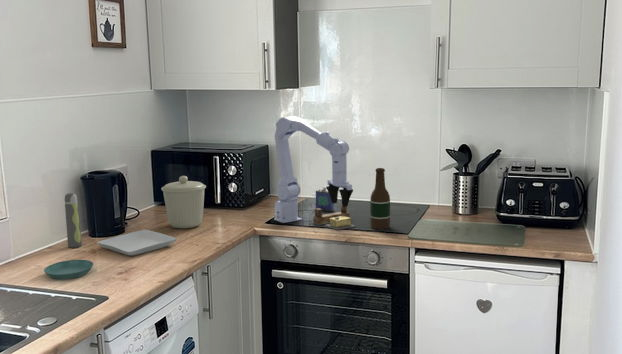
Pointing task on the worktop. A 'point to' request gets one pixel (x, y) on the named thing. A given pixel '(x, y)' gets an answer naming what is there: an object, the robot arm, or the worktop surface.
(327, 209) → the flask
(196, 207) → the canister
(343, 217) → the pale yellow block
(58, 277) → the saucer
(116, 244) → the salad plate
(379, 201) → the beer bottle
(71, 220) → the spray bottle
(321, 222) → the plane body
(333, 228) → the mat
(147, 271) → the worktop surface
